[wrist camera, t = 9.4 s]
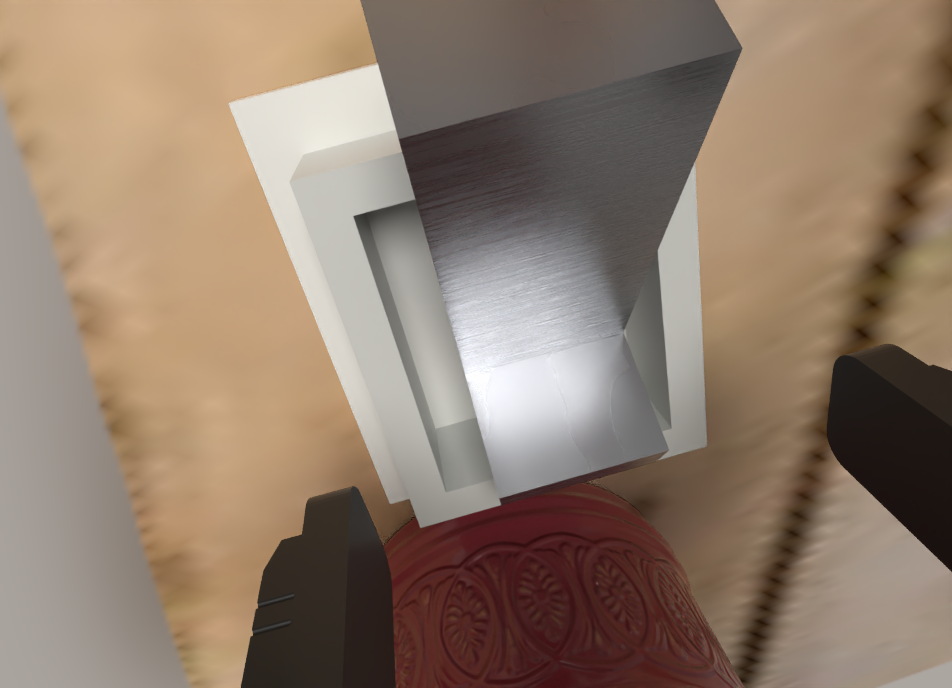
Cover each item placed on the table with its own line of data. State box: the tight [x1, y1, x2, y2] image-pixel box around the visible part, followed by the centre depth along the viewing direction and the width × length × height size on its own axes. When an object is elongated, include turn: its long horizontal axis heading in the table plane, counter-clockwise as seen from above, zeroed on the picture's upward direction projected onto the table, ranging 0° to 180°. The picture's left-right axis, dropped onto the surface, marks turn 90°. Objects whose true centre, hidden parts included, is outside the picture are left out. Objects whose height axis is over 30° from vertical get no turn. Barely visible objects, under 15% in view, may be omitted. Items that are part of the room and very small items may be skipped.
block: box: [361, 0, 742, 506], centre depth 11 cm, size 6×4×10 cm
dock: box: [228, 63, 707, 528], centre depth 16 cm, size 13×11×4 cm
